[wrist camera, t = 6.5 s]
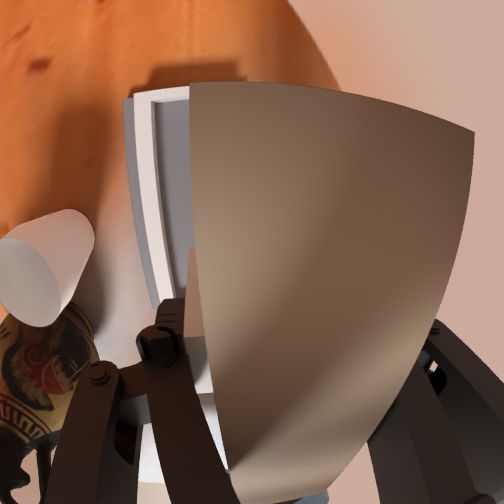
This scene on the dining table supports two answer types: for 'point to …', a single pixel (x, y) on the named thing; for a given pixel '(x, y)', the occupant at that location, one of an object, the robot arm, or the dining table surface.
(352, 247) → the beige textured block
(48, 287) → the cup
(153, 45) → the dining table surface
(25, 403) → the ceramic jug
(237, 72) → the dining table surface
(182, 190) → the track base
